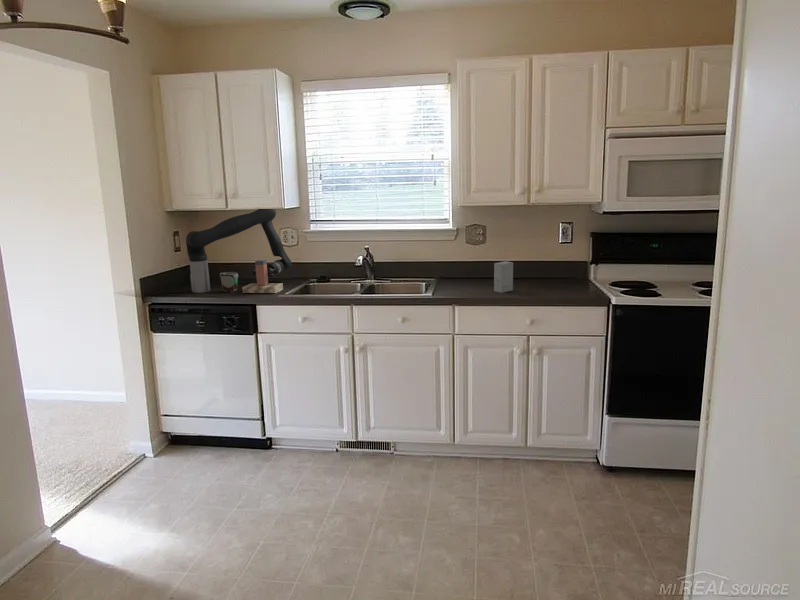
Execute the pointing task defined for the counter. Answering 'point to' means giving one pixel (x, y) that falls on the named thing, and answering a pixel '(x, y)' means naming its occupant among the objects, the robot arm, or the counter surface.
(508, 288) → the skincare box
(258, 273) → the pink tall block
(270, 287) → the beige rectangular block
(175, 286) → the counter surface
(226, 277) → the food container
